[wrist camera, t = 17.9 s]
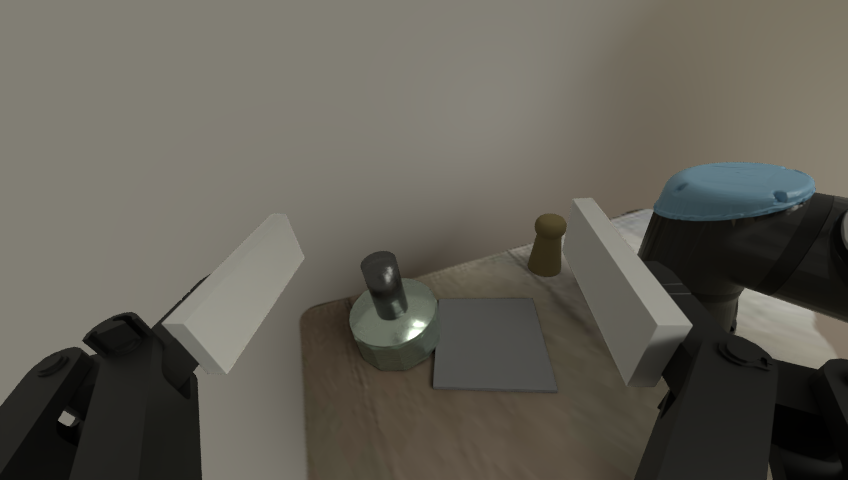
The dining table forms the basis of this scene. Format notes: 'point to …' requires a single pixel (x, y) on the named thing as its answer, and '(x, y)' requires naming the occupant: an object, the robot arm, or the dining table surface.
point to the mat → (492, 347)
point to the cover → (394, 316)
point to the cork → (547, 245)
